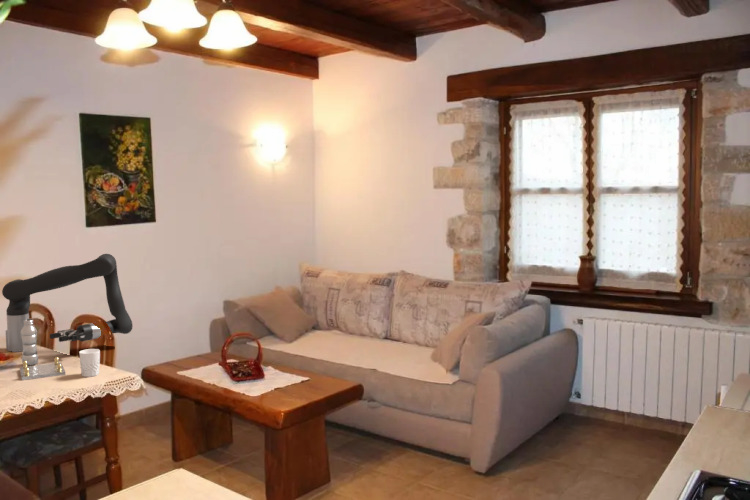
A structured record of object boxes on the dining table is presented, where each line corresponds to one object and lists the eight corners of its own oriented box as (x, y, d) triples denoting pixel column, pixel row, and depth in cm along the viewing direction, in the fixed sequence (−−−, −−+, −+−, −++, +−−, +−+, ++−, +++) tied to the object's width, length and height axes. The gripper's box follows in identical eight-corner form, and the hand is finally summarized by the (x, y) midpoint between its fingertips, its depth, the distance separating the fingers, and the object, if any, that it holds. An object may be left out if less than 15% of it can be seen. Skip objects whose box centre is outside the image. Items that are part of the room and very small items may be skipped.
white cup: (91, 378, 268) (91, 354, 267) (75, 376, 270) (74, 352, 269) (104, 372, 275) (104, 349, 274) (88, 371, 278) (88, 348, 276)
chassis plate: (19, 370, 277) (19, 360, 277) (61, 365, 286) (60, 355, 285) (21, 380, 264) (21, 370, 263) (65, 374, 272) (65, 364, 272)
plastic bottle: (24, 368, 281) (22, 322, 279) (20, 364, 286) (18, 319, 284) (40, 365, 285) (38, 320, 283) (36, 362, 290) (34, 317, 288)
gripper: (81, 321, 310) (46, 327, 297) (97, 326, 301) (61, 332, 288) (82, 337, 310) (47, 343, 298) (97, 342, 301) (62, 348, 289)
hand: (54, 337), depth 293 cm, fingers open, 8 cm apart
